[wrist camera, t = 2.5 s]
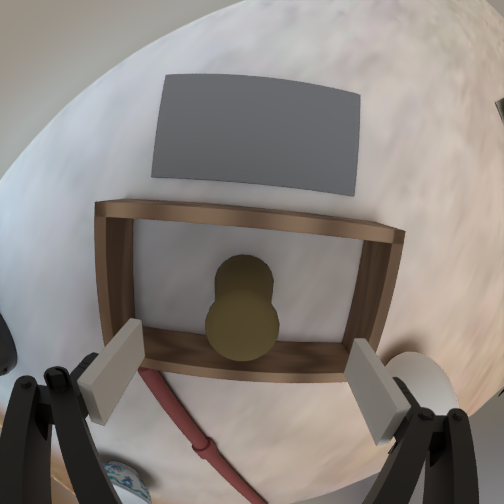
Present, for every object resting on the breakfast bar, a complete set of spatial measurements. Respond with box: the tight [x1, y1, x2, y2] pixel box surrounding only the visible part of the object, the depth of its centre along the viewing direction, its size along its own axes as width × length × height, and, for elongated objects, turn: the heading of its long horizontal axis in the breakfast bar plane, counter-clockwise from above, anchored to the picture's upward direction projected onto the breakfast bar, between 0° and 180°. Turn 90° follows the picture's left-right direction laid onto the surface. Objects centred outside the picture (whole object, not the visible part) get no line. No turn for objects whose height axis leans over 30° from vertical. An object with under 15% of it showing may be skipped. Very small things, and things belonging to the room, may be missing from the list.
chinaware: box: [103, 461, 152, 504], centre depth 33 cm, size 15×15×8 cm
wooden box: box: [94, 199, 405, 383], centre depth 25 cm, size 26×15×6 cm, turn 85°
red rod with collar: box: [137, 367, 267, 504], centre depth 34 cm, size 45×3×3 cm, turn 20°
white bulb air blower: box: [385, 352, 458, 415], centre depth 22 cm, size 8×8×18 cm
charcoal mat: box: [151, 74, 360, 196], centre depth 24 cm, size 20×11×1 cm, turn 84°
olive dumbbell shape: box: [205, 255, 279, 361], centre depth 23 cm, size 6×6×11 cm
